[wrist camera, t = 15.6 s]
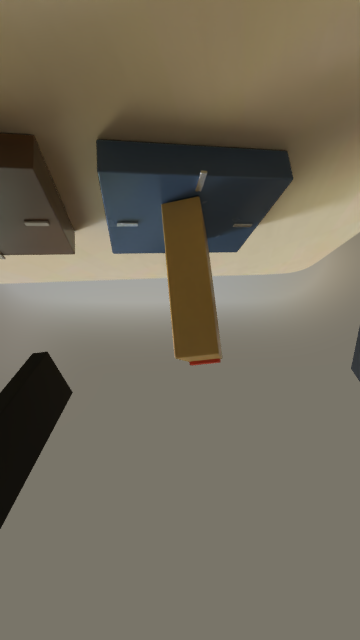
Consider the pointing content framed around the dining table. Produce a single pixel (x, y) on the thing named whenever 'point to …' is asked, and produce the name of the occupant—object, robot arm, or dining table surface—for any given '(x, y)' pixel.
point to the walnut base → (30, 202)
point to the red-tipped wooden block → (190, 283)
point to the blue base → (187, 190)
